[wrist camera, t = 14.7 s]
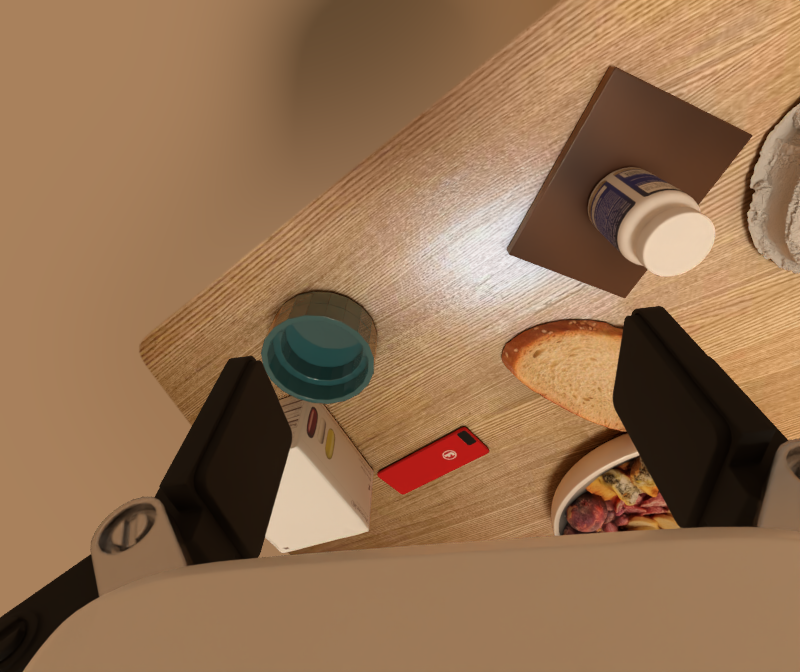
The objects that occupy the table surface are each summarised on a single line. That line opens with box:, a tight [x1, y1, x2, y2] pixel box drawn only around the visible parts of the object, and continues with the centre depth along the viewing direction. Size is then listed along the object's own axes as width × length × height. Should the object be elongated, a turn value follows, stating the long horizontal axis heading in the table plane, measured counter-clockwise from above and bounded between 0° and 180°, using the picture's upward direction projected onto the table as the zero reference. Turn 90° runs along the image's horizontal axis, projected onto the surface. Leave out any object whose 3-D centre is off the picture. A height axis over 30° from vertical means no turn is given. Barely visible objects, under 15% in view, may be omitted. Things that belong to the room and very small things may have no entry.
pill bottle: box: [588, 167, 715, 277], centre depth 34 cm, size 6×6×10 cm
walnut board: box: [507, 66, 752, 298], centre depth 38 cm, size 16×13×1 cm
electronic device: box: [377, 427, 489, 494], centre depth 59 cm, size 6×1×15 cm
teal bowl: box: [261, 292, 377, 404], centre depth 46 cm, size 11×11×5 cm
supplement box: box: [265, 396, 373, 553], centre depth 54 cm, size 17×13×9 cm
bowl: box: [551, 433, 680, 536], centre depth 58 cm, size 30×30×8 cm
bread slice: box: [502, 320, 626, 431], centre depth 49 cm, size 18×18×4 cm
